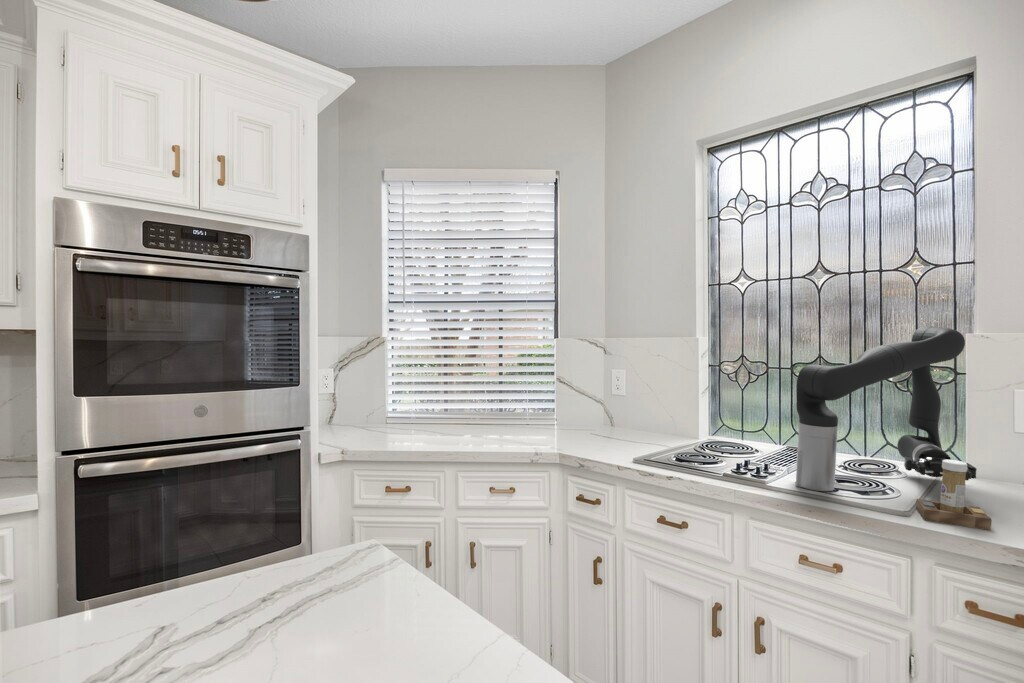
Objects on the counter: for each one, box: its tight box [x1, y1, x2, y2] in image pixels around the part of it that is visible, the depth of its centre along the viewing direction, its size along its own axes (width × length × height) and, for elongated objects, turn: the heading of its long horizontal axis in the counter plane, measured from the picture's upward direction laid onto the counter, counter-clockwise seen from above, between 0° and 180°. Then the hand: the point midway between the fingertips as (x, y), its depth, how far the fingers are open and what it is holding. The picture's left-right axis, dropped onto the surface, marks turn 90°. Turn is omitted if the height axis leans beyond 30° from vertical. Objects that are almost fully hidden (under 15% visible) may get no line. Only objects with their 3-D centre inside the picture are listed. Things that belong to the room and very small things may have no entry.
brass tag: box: [970, 508, 986, 515], centre depth 127 cm, size 2×3×1 cm, turn 153°
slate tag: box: [921, 501, 935, 507], centre depth 131 cm, size 2×3×1 cm, turn 153°
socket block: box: [915, 498, 992, 531], centre depth 129 cm, size 12×9×2 cm
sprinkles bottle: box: [939, 459, 968, 513], centre depth 129 cm, size 5×5×14 cm
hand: (945, 473), depth 136 cm, fingers open, 8 cm apart
